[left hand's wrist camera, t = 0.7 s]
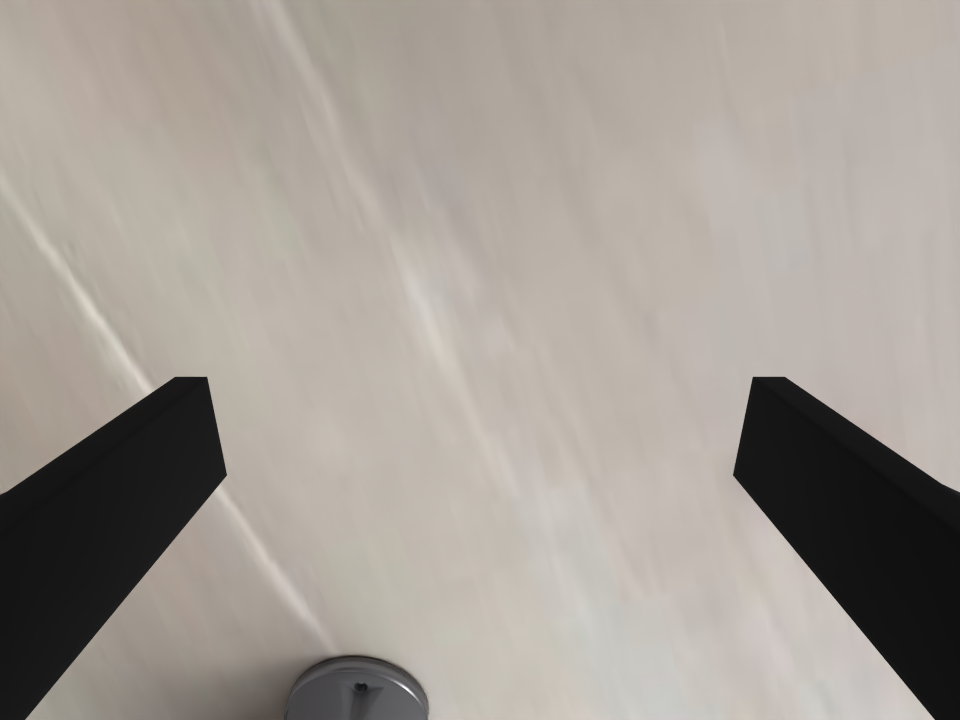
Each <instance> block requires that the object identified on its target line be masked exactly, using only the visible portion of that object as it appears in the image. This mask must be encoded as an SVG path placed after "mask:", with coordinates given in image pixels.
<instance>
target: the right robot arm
mask: <svg viewBox="0 0 960 720" xmlns="http://www.w3.org/2000/svg"><path fill="white" fill-rule="evenodd" d="M428 714H429V707H428V702H427V698H426V696H425V694H424V692H423V690H422V688H421V687H420V686H419V684H418V683H417V682H416V681H415V680H414V679H413V678H412V677H411V676H409V675H408V674H407V673H405V672H404V671H402V670H401V669H399V668H397V667H395V666H393V665H391V664H388V663H385V662H382V661H379V660H375V659H369V658H361V657H345V658H338V659H332V660H329V661H325V662H323V663H320V664H318V665H316V666H314V667H312V668H311V669H309V670H308V671H306V672H305V673H304V674H303V675H302V676H301V677H300V678H299V679H298V680H297V682H296V683H295V685H294V687H293V689H292V691H291V694H290V697H289V699H288V702H287V705H286V708H285V713H284V720H428Z"/></svg>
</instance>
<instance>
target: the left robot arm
mask: <svg viewBox="0 0 960 720" xmlns="http://www.w3.org/2000/svg"><path fill="white" fill-rule="evenodd" d="M226 476H227V473H226V468H225V463H224V458H223V453H222V448H221V443H220V438H219V433H218V428H217V423H216V419H215V414H214V409H213V404H212V399H211V394H210V389H209V384H208V379H207V377H174V378H173V379H171V380H170V381H168V382H167V383H166V384H164V385H163V386H161V387H160V388H158V389H157V390H155V391H154V392H152V393H151V394H149V395H148V396H147V397H145V398H144V399H142V400H141V401H139V402H138V403H136V404H135V405H133V406H132V407H130V408H129V409H127V410H126V411H125V412H123V413H122V414H120V415H119V416H117V417H116V418H114V419H113V420H111V421H110V422H108V423H107V424H105V425H104V426H103V427H101V428H100V429H98V430H97V431H95V432H94V433H92V434H91V435H89V436H88V437H86V438H85V439H84V440H82V441H81V442H79V443H78V444H76V445H75V446H73V447H72V448H70V449H69V450H67V451H66V452H64V453H63V454H62V455H60V456H59V457H57V458H56V459H54V460H53V461H51V462H50V463H48V464H47V465H45V466H44V467H43V468H41V469H40V470H38V471H37V472H35V473H34V474H32V475H31V476H29V477H28V478H26V479H25V480H23V481H22V482H21V483H19V484H18V485H16V486H15V487H13V488H12V489H10V490H9V491H7V492H5V493H3V494H1V495H0V720H25V719H26V718H27V717H28V716H29V714H30V713H31V712H32V711H33V710H34V708H35V707H36V706H37V705H38V703H39V702H40V701H41V700H42V699H43V697H44V696H45V695H46V694H47V693H48V691H49V690H50V689H51V688H52V687H53V685H54V684H55V683H56V682H57V680H58V679H59V678H60V677H61V676H62V674H63V673H64V672H65V671H66V670H67V668H68V667H69V666H70V665H71V664H72V662H73V661H74V660H75V659H76V657H77V656H78V655H79V654H80V653H81V651H82V650H83V649H84V648H85V647H86V645H87V644H88V643H89V642H90V640H91V639H92V638H93V637H94V636H95V634H96V633H97V632H98V631H99V630H100V628H101V627H102V626H103V625H104V624H105V622H106V621H107V620H108V619H109V617H110V616H111V615H112V614H113V613H114V611H115V610H116V609H117V608H118V607H119V605H120V604H121V603H122V602H123V601H124V599H125V598H126V597H127V596H128V594H129V593H130V592H131V591H132V590H133V588H134V587H135V586H136V585H137V584H138V582H139V581H140V580H141V579H142V578H143V576H144V575H145V574H146V573H147V571H148V570H149V569H150V568H151V567H152V565H153V564H154V563H155V562H156V561H157V559H158V558H159V557H160V556H161V555H162V553H163V552H164V551H165V550H166V548H167V547H168V546H169V545H170V544H171V542H172V541H173V540H174V539H175V538H176V536H177V535H178V534H179V533H180V531H181V530H182V529H183V528H184V527H185V525H186V524H187V523H188V522H189V521H190V519H191V518H192V517H193V516H194V515H195V513H196V512H197V511H198V510H199V508H200V507H201V506H202V505H203V504H204V502H205V501H206V500H207V499H208V498H209V496H210V495H211V494H212V493H213V492H214V490H215V489H216V488H217V487H218V485H219V484H220V483H221V482H222V481H223V479H224V478H225V477H226ZM733 476H734V477H735V478H736V479H737V481H738V482H739V483H740V484H741V485H742V487H743V488H744V489H745V490H746V492H747V493H748V494H749V495H750V496H751V498H752V499H753V500H754V501H755V502H756V504H757V505H758V506H759V507H760V508H761V510H762V511H763V512H764V513H765V515H766V516H767V517H768V518H769V519H770V521H771V522H772V523H773V524H774V525H775V527H776V528H777V529H778V530H779V531H780V533H781V534H782V535H783V536H784V538H785V539H786V540H787V541H788V542H789V544H790V545H791V546H792V547H793V548H794V550H795V551H796V552H797V553H798V555H799V556H800V557H801V558H802V559H803V561H804V562H805V563H806V564H807V565H808V567H809V568H810V569H811V570H812V571H813V573H814V574H815V575H816V576H817V578H818V579H819V580H820V581H821V582H822V584H823V585H824V586H825V587H826V588H827V590H828V591H829V592H830V593H831V594H832V596H833V597H834V598H835V599H836V601H837V602H838V603H839V604H840V605H841V607H842V608H843V609H844V610H845V611H846V613H847V614H848V615H849V616H850V617H851V619H852V620H853V621H854V622H855V624H856V625H857V626H858V627H859V628H860V630H861V631H862V632H863V633H864V634H865V636H866V637H867V638H868V639H869V640H870V642H871V643H872V644H873V645H874V647H875V648H876V649H877V650H878V651H879V653H880V654H881V655H882V656H883V657H884V659H885V660H886V661H887V662H888V664H889V665H890V666H891V667H892V668H893V670H894V671H895V672H896V673H897V674H898V676H899V677H900V678H901V679H902V680H903V682H904V683H905V684H906V685H907V687H908V688H909V689H910V690H911V691H912V693H913V694H914V695H915V696H916V697H917V699H918V700H919V701H920V702H921V703H922V705H923V706H924V707H925V708H926V710H927V711H928V712H929V713H930V714H931V716H932V717H933V718H934V719H935V720H960V492H958V491H956V490H953V489H951V488H949V487H947V486H945V485H943V484H941V483H939V482H938V481H937V480H935V479H934V478H932V477H931V476H929V475H928V474H926V473H925V472H923V471H922V470H920V469H919V468H917V467H916V466H915V465H913V464H912V463H910V462H909V461H907V460H906V459H904V458H903V457H901V456H900V455H898V454H897V453H896V452H894V451H893V450H891V449H890V448H888V447H887V446H885V445H884V444H882V443H881V442H879V441H878V440H876V439H875V438H874V437H872V436H871V435H869V434H868V433H866V432H865V431H863V430H862V429H860V428H859V427H857V426H856V425H855V424H853V423H852V422H850V421H849V420H847V419H846V418H844V417H843V416H841V415H840V414H838V413H837V412H835V411H834V410H833V409H831V408H830V407H828V406H827V405H825V404H824V403H822V402H821V401H819V400H818V399H816V398H815V397H813V396H812V395H811V394H809V393H808V392H806V391H805V390H803V389H802V388H800V387H799V386H797V385H796V384H794V383H793V382H792V381H790V380H789V379H787V378H786V377H753V379H752V384H751V389H750V394H749V399H748V404H747V409H746V414H745V419H744V423H743V428H742V433H741V438H740V443H739V448H738V453H737V458H736V463H735V468H734V473H733Z"/></svg>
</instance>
